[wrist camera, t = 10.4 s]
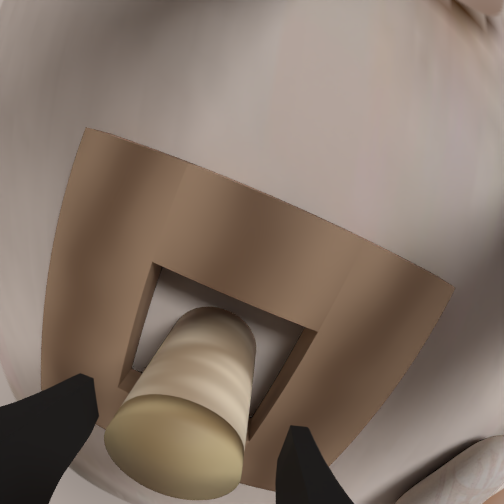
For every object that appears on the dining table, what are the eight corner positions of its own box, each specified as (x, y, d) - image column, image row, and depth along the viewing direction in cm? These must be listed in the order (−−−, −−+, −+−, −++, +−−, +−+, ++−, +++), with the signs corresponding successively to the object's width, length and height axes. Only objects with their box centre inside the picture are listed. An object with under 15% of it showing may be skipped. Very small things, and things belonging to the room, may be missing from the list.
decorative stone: (403, 516, 19) (413, 551, 14) (362, 498, 18) (371, 543, 13) (509, 442, 17) (531, 472, 12) (492, 406, 16) (522, 444, 11)
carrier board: (436, 275, 14) (455, 287, 12) (297, 474, 17) (298, 495, 15) (107, 132, 13) (86, 127, 11) (56, 374, 17) (41, 389, 15)
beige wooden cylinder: (263, 316, 15) (253, 436, 7) (248, 386, 16) (231, 509, 8) (174, 298, 15) (96, 395, 7) (169, 370, 16) (112, 477, 8)
